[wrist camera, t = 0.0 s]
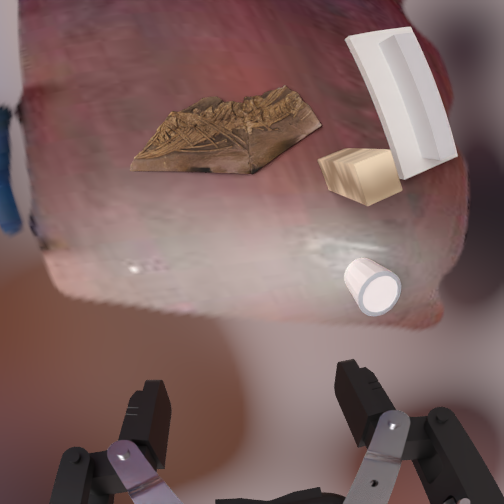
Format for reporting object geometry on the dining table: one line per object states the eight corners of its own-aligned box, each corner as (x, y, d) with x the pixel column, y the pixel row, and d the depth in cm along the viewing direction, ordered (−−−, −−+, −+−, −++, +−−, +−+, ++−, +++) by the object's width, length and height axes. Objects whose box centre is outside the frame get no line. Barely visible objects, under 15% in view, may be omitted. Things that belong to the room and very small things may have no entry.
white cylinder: (343, 253, 43) (362, 271, 37) (383, 253, 44) (406, 270, 37) (337, 296, 45) (354, 319, 39) (375, 293, 46) (396, 314, 39)
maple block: (317, 159, 38) (353, 164, 27) (345, 148, 38) (390, 149, 27) (329, 190, 40) (367, 206, 29) (356, 178, 40) (402, 190, 28)
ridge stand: (344, 39, 33) (361, 25, 27) (405, 29, 32) (426, 18, 27) (399, 178, 40) (422, 183, 35) (452, 155, 40) (476, 158, 34)
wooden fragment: (313, 83, 35) (315, 82, 34) (326, 161, 39) (329, 162, 38) (121, 120, 35) (119, 120, 34) (138, 198, 38) (135, 199, 37)
